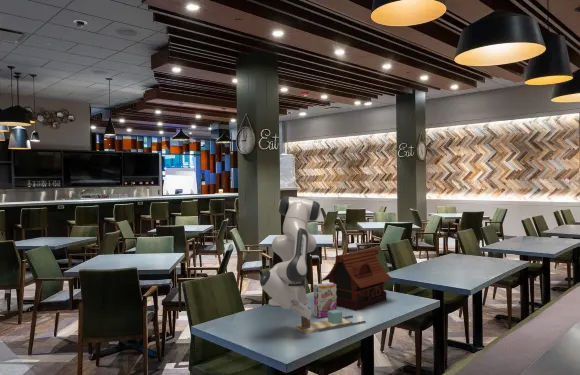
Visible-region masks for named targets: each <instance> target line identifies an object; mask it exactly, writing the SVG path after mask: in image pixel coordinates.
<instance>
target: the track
mask: <svg viewBox="0 0 580 375" xmlns="http://www.w3.org/2000/svg"><path fill="white" fill-rule="evenodd" d="M342 318H345V319H347V320H348V319H351V318H354V315H348V316H342ZM325 320H326V319H325ZM325 320H323V321H325ZM314 322H315V321H314ZM314 322H312V323H314ZM362 324H367V323H366V320H363V321H357V322H352V323H351V324H346V325H340V326H335V327H330V328H325V329H320V330H319V331H318V332H319V333H320V332H326V331H330V330H337V329H342V328H346V327H353V326H357V325H362Z"/></svg>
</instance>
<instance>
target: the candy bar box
mask: <svg viewBox="0 0 580 375" xmlns="http://www.w3.org/2000/svg"><path fill="white" fill-rule="evenodd" d="M337 308H338V306H337V285H336V284H334V283H330V282H326V283H325V282H324V283H314V284H313V316H314V317H315V318H316V319H323V318H328V311H331V310H338V309H337Z"/></svg>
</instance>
